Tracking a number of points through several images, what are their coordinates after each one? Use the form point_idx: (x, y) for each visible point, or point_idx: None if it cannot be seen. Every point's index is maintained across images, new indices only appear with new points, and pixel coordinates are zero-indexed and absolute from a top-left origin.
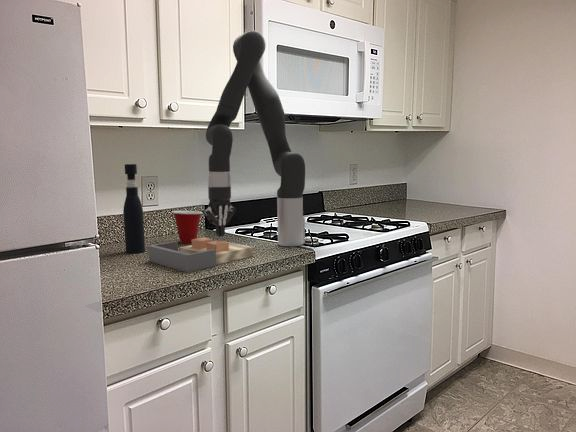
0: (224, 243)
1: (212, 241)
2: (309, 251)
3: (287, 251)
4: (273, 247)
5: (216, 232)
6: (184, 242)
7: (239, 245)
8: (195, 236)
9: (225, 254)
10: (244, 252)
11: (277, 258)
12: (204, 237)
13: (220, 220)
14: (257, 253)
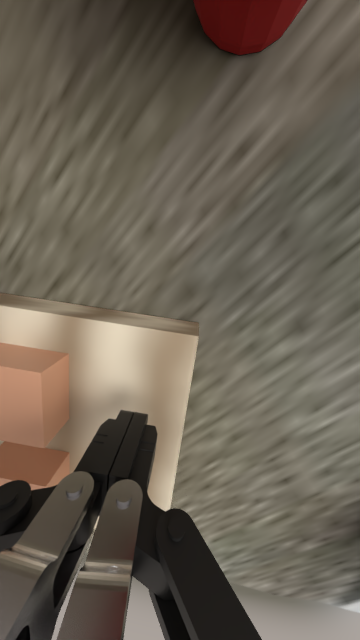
0: None
1: (6, 479)
2: (325, 599)
3: (292, 553)
4: (337, 492)
5: (99, 435)
6: (194, 3)
7: (156, 492)
8: (275, 10)
9: None
10: None
11: None
12: (40, 379)
13: (56, 585)
14: (212, 494)
